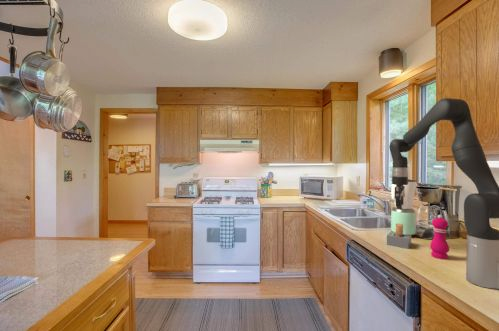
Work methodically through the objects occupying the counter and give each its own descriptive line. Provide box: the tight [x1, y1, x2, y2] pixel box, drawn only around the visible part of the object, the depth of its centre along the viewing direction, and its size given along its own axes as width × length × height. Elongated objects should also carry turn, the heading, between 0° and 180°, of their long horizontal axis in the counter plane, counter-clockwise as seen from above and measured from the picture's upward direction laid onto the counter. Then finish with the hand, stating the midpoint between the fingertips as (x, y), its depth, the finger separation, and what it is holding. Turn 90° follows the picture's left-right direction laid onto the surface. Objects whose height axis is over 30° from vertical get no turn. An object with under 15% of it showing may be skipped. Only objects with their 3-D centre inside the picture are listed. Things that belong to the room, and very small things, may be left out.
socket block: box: [386, 231, 412, 250], centre depth 136 cm, size 10×10×5 cm
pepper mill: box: [429, 214, 450, 260], centre depth 118 cm, size 7×7×20 cm
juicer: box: [390, 178, 417, 237], centre depth 154 cm, size 19×13×35 cm
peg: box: [395, 224, 403, 237], centre depth 136 cm, size 3×3×10 cm
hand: (399, 205), depth 136 cm, fingers open, 8 cm apart
